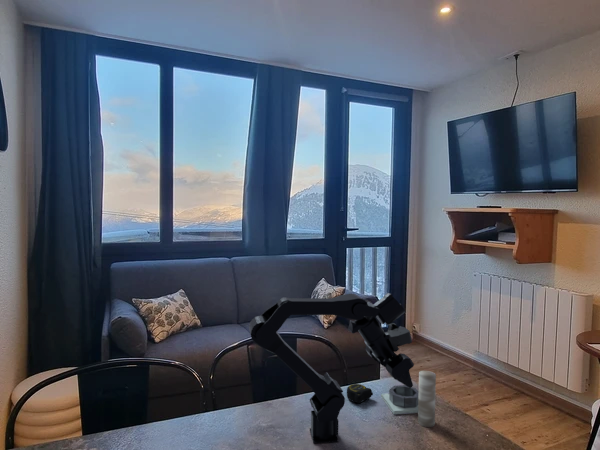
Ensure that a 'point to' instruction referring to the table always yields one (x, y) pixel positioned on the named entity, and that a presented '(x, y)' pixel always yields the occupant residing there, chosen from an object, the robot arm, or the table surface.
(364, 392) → the tape measure
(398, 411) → the collar board
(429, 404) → the peg
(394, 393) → the collar
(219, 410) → the table surface
